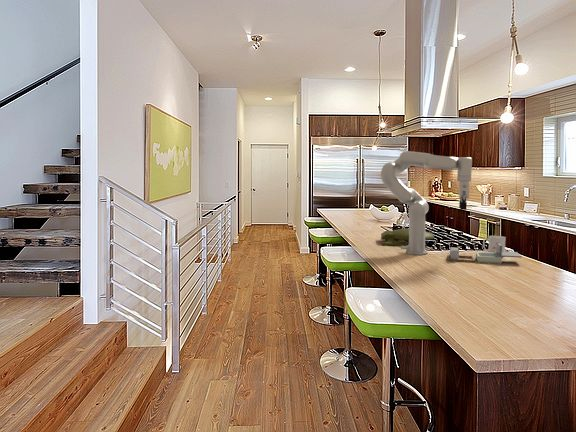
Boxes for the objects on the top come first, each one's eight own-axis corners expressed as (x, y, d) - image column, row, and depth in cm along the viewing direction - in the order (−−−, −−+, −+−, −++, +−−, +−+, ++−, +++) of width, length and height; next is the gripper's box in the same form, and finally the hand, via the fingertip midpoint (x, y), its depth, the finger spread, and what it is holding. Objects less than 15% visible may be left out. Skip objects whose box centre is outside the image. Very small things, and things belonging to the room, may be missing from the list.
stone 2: (450, 260, 272) (451, 250, 272) (450, 259, 276) (450, 249, 276) (458, 261, 271) (458, 250, 271) (457, 259, 275) (458, 249, 275)
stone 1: (449, 258, 278) (450, 248, 277) (450, 257, 282) (450, 247, 281) (457, 259, 276) (457, 248, 276) (457, 258, 280) (458, 247, 279)
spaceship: (381, 246, 321) (381, 231, 319) (381, 238, 351) (381, 225, 350) (436, 248, 314) (436, 233, 313) (431, 240, 344) (431, 226, 343)
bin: (477, 262, 268) (478, 256, 267) (475, 258, 279) (475, 252, 279) (501, 263, 264) (501, 257, 264) (498, 259, 276) (498, 253, 275)
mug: (503, 254, 290) (504, 236, 289) (505, 257, 282) (506, 238, 281) (481, 253, 293) (482, 235, 292) (483, 256, 285) (484, 237, 284)
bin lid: (497, 256, 265) (497, 246, 264) (494, 252, 276) (494, 242, 275) (521, 257, 261) (522, 247, 261) (517, 253, 273) (518, 243, 272)
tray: (448, 261, 272) (448, 258, 271) (447, 256, 284) (447, 254, 283) (474, 262, 268) (475, 260, 268) (472, 258, 280) (472, 255, 280)
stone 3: (482, 252, 270) (494, 253, 268) (481, 251, 274) (493, 252, 272) (482, 259, 270) (493, 260, 269) (481, 258, 274) (492, 259, 273)
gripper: (472, 179, 269) (470, 210, 271) (469, 178, 285) (468, 207, 287) (458, 179, 271) (456, 210, 273) (456, 178, 287) (455, 207, 289)
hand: (462, 208), depth 280 cm, fingers open, 9 cm apart
